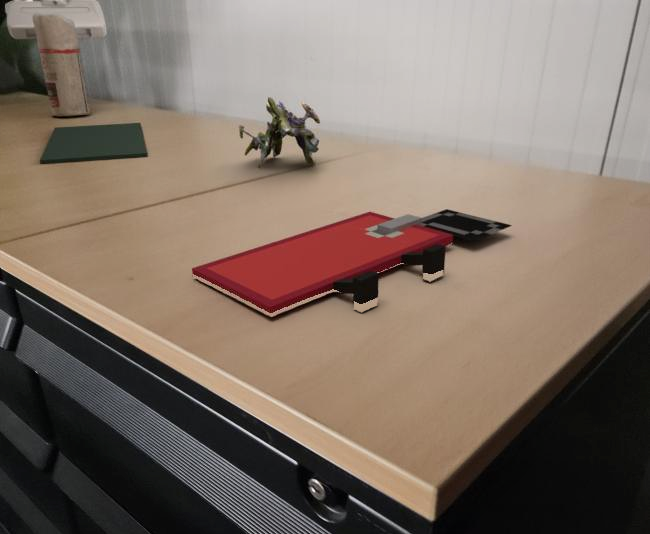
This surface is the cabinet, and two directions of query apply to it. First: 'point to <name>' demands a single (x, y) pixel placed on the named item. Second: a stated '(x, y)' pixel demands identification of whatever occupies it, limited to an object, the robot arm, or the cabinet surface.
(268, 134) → the toy creature figure
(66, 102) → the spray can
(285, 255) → the red board with handle
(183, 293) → the cabinet surface
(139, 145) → the mat
